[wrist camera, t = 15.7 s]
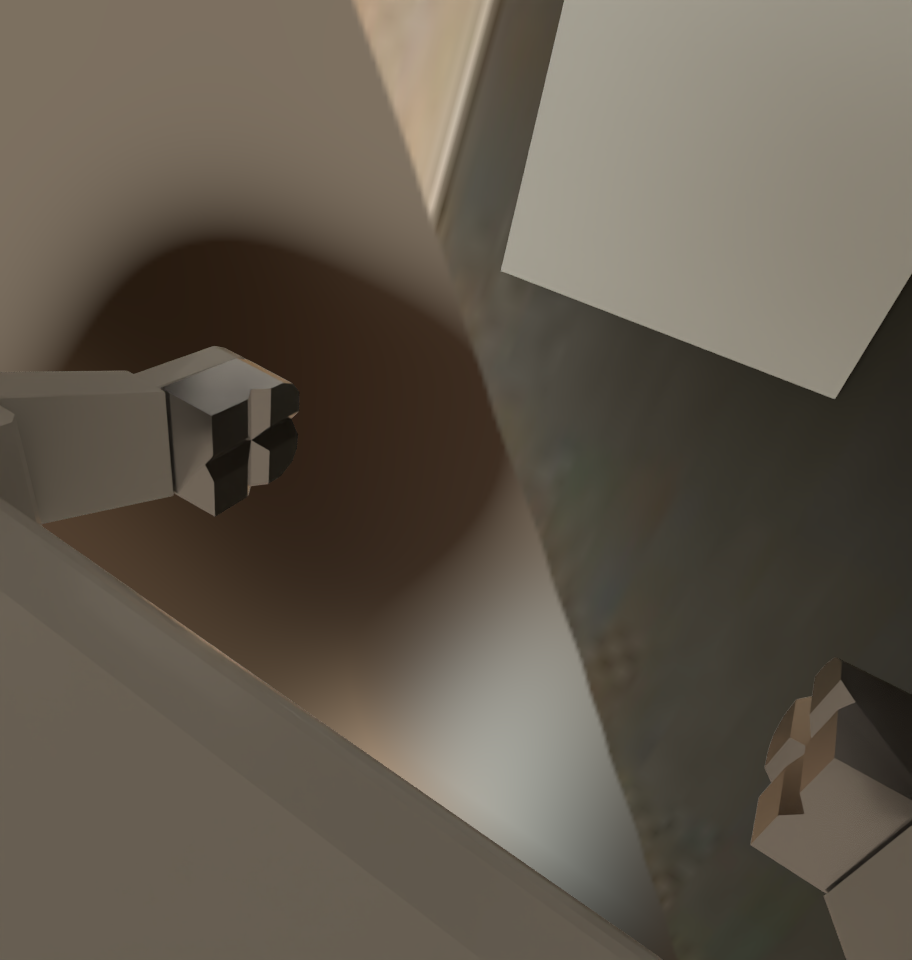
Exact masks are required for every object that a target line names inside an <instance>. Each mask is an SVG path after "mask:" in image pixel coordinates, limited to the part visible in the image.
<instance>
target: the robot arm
mask: <svg viewBox="0 0 912 960" xmlns="http://www.w3.org/2000/svg"><path fill="white" fill-rule="evenodd" d="M298 411H299V391H298V390H297V388H296V387H295V386H294V385H293V384H292V383H290V382H289V381H287V380H285V379H283V378H281V377H279V376H277V375H275V374H273V373H272V372H270V371H268V370H266V369H264V368H262V367H260V366H258V365H257V364H255V363H253V362H251V361H249V360H247V359H244V358H243V357H241V356H239V355H237V354H235V353H233V352H231V351H229V350H227V349H225V348H221V347H216V346H213V347H210V348H207V349H204V350H201V351H199V352H196V353H193V354H190V355H187V356H184V357H182V358H179V359H176V360H173V361H170V362H168V363H165V364H162V365H159V366H156V367H153V368H151V369H148V370H145V371H142V372H139V373H136V374H132V373H130V372H128V371H69V372H68V371H66V372H65V371H61V372H0V960H663V959H661V958H660V957H658V956H657V955H656V954H654V953H653V952H651V951H650V950H648V949H647V948H646V947H644V946H643V945H641V944H640V943H638V942H637V941H636V940H634V939H633V938H631V937H630V936H628V935H627V934H625V933H624V932H622V931H621V930H620V929H618V928H617V927H616V926H614V925H612V924H611V923H609V922H608V921H607V920H605V919H604V918H603V917H601V916H600V915H598V914H597V913H595V912H594V911H592V910H591V909H590V908H588V907H587V906H585V905H584V904H582V903H581V902H579V901H578V900H577V899H575V898H574V897H572V896H571V895H570V894H568V893H567V892H565V891H564V890H562V889H561V888H559V887H558V886H557V885H555V884H554V883H552V882H551V881H549V880H548V879H547V878H545V877H544V876H542V875H541V874H539V873H538V872H536V871H535V870H534V869H532V868H531V867H529V866H528V865H526V864H525V863H524V862H522V861H521V860H519V859H518V858H516V857H515V856H514V855H512V854H510V853H509V852H508V851H506V850H505V849H503V848H502V847H501V846H499V845H498V844H496V843H495V842H493V841H492V840H490V839H489V838H488V837H486V836H485V835H483V834H482V833H480V832H479V831H478V830H476V829H475V828H473V827H472V826H470V825H469V824H467V823H466V822H464V821H463V820H462V819H460V818H459V817H457V816H456V815H455V814H453V813H452V812H450V811H449V810H447V809H446V808H445V807H443V806H442V805H440V804H439V803H437V802H436V801H434V800H433V799H431V798H430V797H429V796H427V795H426V794H424V793H423V792H421V791H420V790H419V789H417V788H416V787H414V786H413V785H411V784H410V783H409V782H407V781H406V780H404V779H403V778H401V777H400V776H399V775H397V774H396V773H394V772H393V771H391V770H390V769H389V768H387V767H385V766H384V765H383V764H381V763H380V762H378V761H377V760H376V759H374V758H373V757H371V756H370V755H368V754H367V753H366V752H364V751H363V750H361V749H360V748H358V747H357V746H355V745H354V744H353V743H351V742H350V741H348V740H347V739H345V738H344V737H343V736H341V735H340V734H338V733H337V732H335V731H334V730H332V729H331V728H330V727H328V726H326V725H325V724H324V723H322V722H321V721H319V720H318V719H317V718H315V717H314V716H312V715H311V714H310V713H308V712H307V711H305V710H304V709H302V708H301V707H300V706H298V705H297V704H295V703H294V702H293V701H291V700H290V699H288V698H287V697H285V696H284V695H283V694H281V693H280V692H278V691H277V690H275V689H274V688H273V687H271V686H270V685H268V684H267V683H265V682H264V681H263V680H261V679H260V678H258V677H257V676H255V675H254V674H252V673H251V672H250V671H248V670H247V669H245V668H244V667H243V666H241V665H239V664H238V663H237V662H235V661H234V660H232V659H231V658H230V657H228V656H226V655H225V654H224V653H223V652H221V651H220V650H218V649H217V648H215V647H214V646H213V645H211V644H210V643H208V642H207V641H205V640H204V639H203V638H201V637H200V636H198V635H197V634H195V633H194V632H193V631H191V630H190V629H188V628H187V627H185V626H184V625H183V624H181V623H180V622H178V621H177V620H175V619H174V618H172V617H171V616H170V615H168V614H167V613H165V612H164V611H162V610H161V609H160V608H158V607H157V606H155V605H154V604H152V603H151V602H150V601H148V600H147V599H145V598H144V597H142V596H141V595H139V594H138V593H137V592H135V591H134V590H132V589H131V588H130V587H128V586H127V585H125V584H124V583H122V582H121V581H119V580H118V579H117V578H115V577H114V576H112V575H111V574H109V573H108V572H106V571H105V570H104V569H102V568H101V567H99V566H98V565H97V564H95V563H94V562H92V561H91V560H89V559H88V558H86V557H85V556H84V555H82V554H81V553H79V552H78V551H77V550H75V549H73V548H72V547H71V546H69V545H68V544H66V543H65V542H64V541H62V540H60V539H59V538H58V537H56V536H55V535H54V534H52V533H51V532H49V531H48V530H46V529H45V528H43V527H42V524H44V523H48V522H53V521H58V520H62V519H67V518H72V517H76V516H80V515H86V514H90V513H95V512H99V511H104V510H109V509H114V508H118V507H123V506H127V505H132V504H137V503H142V502H146V501H151V500H156V499H160V498H165V497H169V496H173V493H175V494H176V495H178V496H180V497H182V498H183V499H185V500H187V501H189V502H191V503H192V504H194V505H196V506H198V507H199V508H201V509H203V510H205V511H206V512H208V513H210V514H212V515H213V516H217V515H218V514H220V513H222V512H223V511H225V510H227V509H228V508H230V507H231V506H233V505H235V504H236V503H238V502H240V501H241V500H243V499H244V498H246V497H247V496H248V493H249V490H250V486H254V485H263V484H269V483H270V482H272V481H273V480H275V479H276V478H278V477H280V476H281V475H282V474H283V472H284V471H285V470H286V469H287V467H288V466H289V465H290V463H291V462H292V461H293V457H294V455H295V452H296V449H297V439H298V434H297V432H296V429H295V427H294V424H293V422H292V420H291V418H292V417H293V416H294V415H295V414H296V413H297V412H298ZM764 768H765V770H766V772H767V774H768V776H769V778H770V781H771V784H770V785H769V786H768V787H767V789H766V790H765V791H764V792H763V793H762V794H761V795H760V796H759V799H758V805H757V810H756V816H755V822H754V827H753V833H752V839H751V844H750V845H752V846H753V847H755V848H756V849H758V850H759V851H761V852H762V853H764V854H766V855H767V856H769V857H770V858H772V859H773V860H775V861H776V862H778V863H779V864H781V865H783V866H784V867H786V868H787V869H789V870H790V871H792V872H793V873H795V874H797V875H798V876H800V877H801V878H803V879H804V880H806V881H807V882H809V883H811V884H812V885H814V886H815V887H817V888H818V889H820V890H821V891H823V892H825V893H826V895H825V896H824V898H825V901H826V904H827V907H828V909H829V912H830V915H831V918H832V921H833V923H834V926H835V929H836V932H837V934H838V937H839V940H840V943H841V946H842V948H843V951H844V954H845V957H846V960H912V694H910V693H908V692H906V691H904V690H902V689H900V688H898V687H896V686H894V685H892V684H890V683H888V682H886V681H884V680H881V679H879V678H877V677H875V676H873V675H871V674H869V673H867V672H865V671H863V670H861V669H859V668H857V667H855V666H853V665H851V664H849V663H847V662H845V661H843V660H841V659H839V658H837V657H835V658H833V659H832V660H830V661H829V662H828V663H826V664H825V666H824V667H823V668H822V669H821V670H820V671H819V673H818V674H817V675H816V676H815V679H814V686H813V693H812V696H811V697H806V698H801V699H796V700H795V702H794V703H793V704H792V706H791V707H790V708H789V710H788V711H787V712H786V713H785V715H784V716H783V718H782V720H781V722H780V723H779V725H778V727H777V729H776V731H775V733H774V735H773V737H772V740H771V743H770V746H769V749H768V753H767V758H766V762H765V767H764Z"/></svg>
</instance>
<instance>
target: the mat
mask: <svg viewBox="0 0 912 960" xmlns="http://www.w3.org/2000/svg"><path fill="white" fill-rule="evenodd" d="M501 271H503V272H505V273H508V274H510V275H513V276H516V277H518V278H521V279H523V280H526V281H529V282H531V283H534V284H536V285H539V286H542V287H544V288H547V289H549V290H552V291H555V292H557V293H560V294H562V295H565V296H568V297H570V298H573V299H575V300H578V301H581V302H583V303H586V304H588V305H591V306H594V307H596V308H599V309H601V310H604V311H607V312H609V313H612V314H614V315H617V316H620V317H622V318H625V319H627V320H630V321H633V322H635V323H638V324H640V325H643V326H646V327H648V328H651V329H653V330H656V331H659V332H661V333H664V334H666V335H669V336H672V337H674V338H677V339H679V340H682V341H685V342H687V343H690V344H692V345H695V346H698V347H700V348H703V349H705V350H708V351H711V352H713V353H716V354H718V355H721V356H724V357H726V358H729V359H731V360H734V361H737V362H739V363H742V364H744V365H747V366H750V367H752V368H755V369H757V370H760V371H763V372H765V373H768V374H770V375H773V376H776V377H778V378H781V379H783V380H786V381H789V382H791V383H794V384H796V385H799V386H802V387H804V388H807V389H809V390H812V391H815V392H817V393H820V394H822V395H825V396H828V397H830V398H833V399H835V398H836V396H837V395H838V393H839V392H840V390H841V388H842V387H843V385H844V383H845V382H846V380H847V378H848V377H849V375H850V374H851V372H852V370H853V369H854V367H855V365H856V364H857V362H858V360H859V359H860V357H861V356H862V354H863V352H864V351H865V349H866V347H867V346H868V344H869V343H870V341H871V339H872V338H873V336H874V334H875V333H876V331H877V329H878V328H879V326H880V325H881V323H882V321H883V320H884V318H885V316H886V315H887V313H888V312H889V310H890V308H891V307H892V305H893V303H894V302H895V300H896V298H897V297H898V295H899V294H900V292H901V290H902V289H903V287H904V285H905V284H906V282H907V280H908V279H909V277H910V276H911V274H912V0H564V4H563V8H562V13H561V17H560V21H559V25H558V30H557V34H556V38H555V42H554V47H553V51H552V55H551V59H550V64H549V68H548V72H547V77H546V81H545V85H544V89H543V94H542V98H541V102H540V106H539V111H538V115H537V119H536V123H535V128H534V132H533V136H532V140H531V145H530V149H529V153H528V158H527V162H526V166H525V170H524V175H523V179H522V183H521V187H520V192H519V196H518V200H517V204H516V209H515V213H514V217H513V221H512V226H511V230H510V234H509V238H508V243H507V247H506V251H505V256H504V260H503V264H502V268H501Z"/></svg>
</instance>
